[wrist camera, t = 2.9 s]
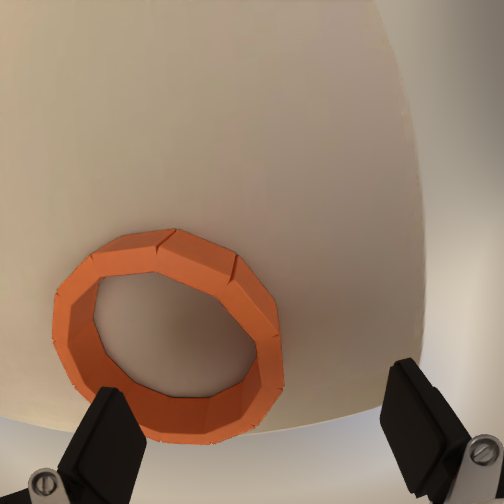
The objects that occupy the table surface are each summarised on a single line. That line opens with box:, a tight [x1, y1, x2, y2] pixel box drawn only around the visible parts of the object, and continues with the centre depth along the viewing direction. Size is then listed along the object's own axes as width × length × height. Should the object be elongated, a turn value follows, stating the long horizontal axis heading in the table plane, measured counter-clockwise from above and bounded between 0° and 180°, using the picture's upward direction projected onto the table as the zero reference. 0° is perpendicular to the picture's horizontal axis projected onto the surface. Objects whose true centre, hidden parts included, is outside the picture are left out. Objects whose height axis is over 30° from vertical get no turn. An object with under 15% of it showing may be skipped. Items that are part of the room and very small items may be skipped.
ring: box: [52, 228, 284, 445], centre depth 13 cm, size 11×11×3 cm
